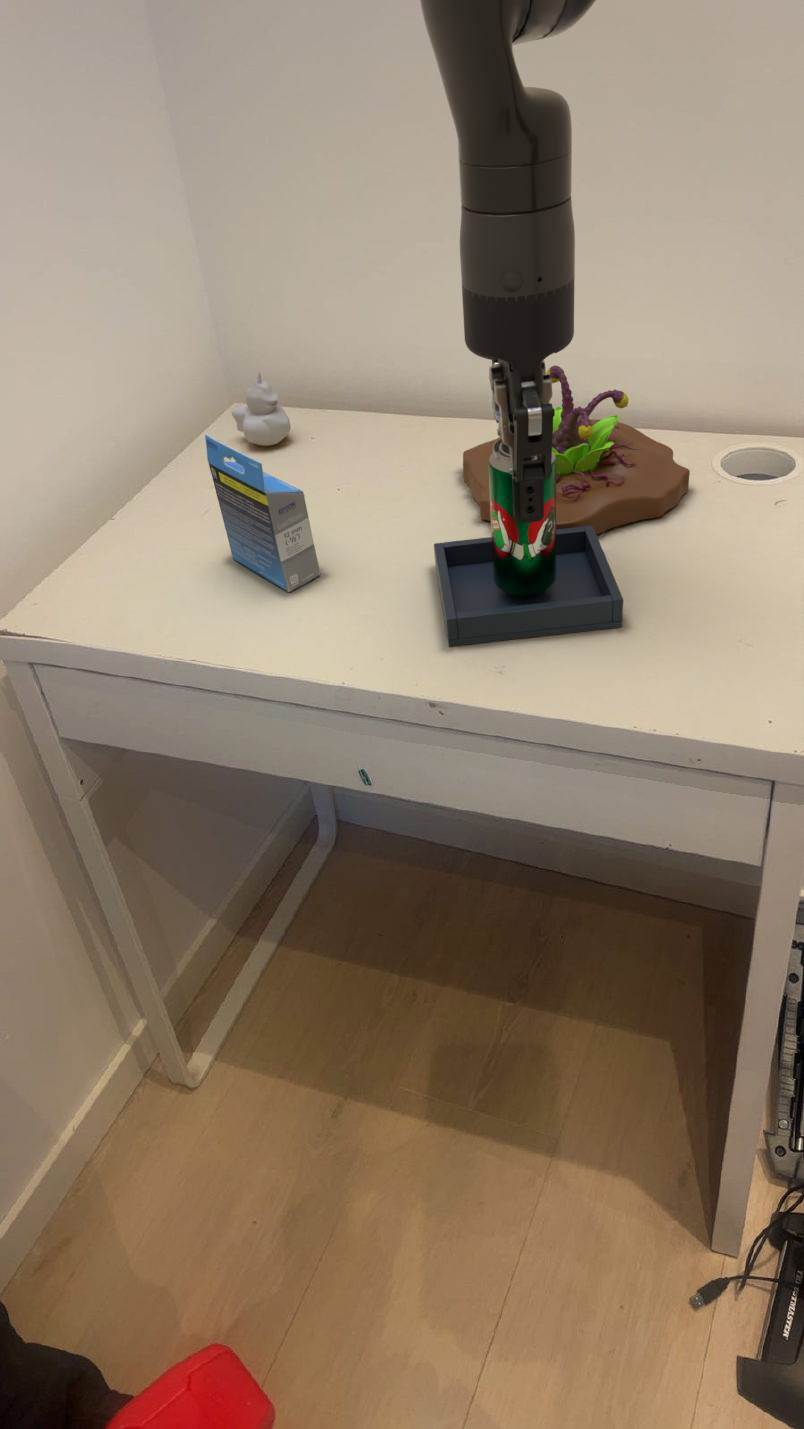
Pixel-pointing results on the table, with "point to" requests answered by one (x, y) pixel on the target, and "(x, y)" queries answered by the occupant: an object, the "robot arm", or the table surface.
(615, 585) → the container
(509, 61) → the robot arm
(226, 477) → the label tape box
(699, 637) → the table surface
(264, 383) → the rubber duck
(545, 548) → the soda can
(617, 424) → the plant
